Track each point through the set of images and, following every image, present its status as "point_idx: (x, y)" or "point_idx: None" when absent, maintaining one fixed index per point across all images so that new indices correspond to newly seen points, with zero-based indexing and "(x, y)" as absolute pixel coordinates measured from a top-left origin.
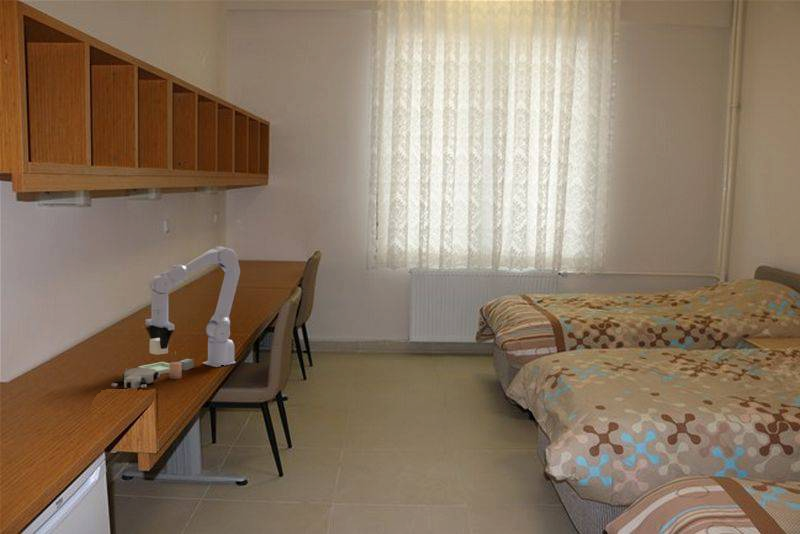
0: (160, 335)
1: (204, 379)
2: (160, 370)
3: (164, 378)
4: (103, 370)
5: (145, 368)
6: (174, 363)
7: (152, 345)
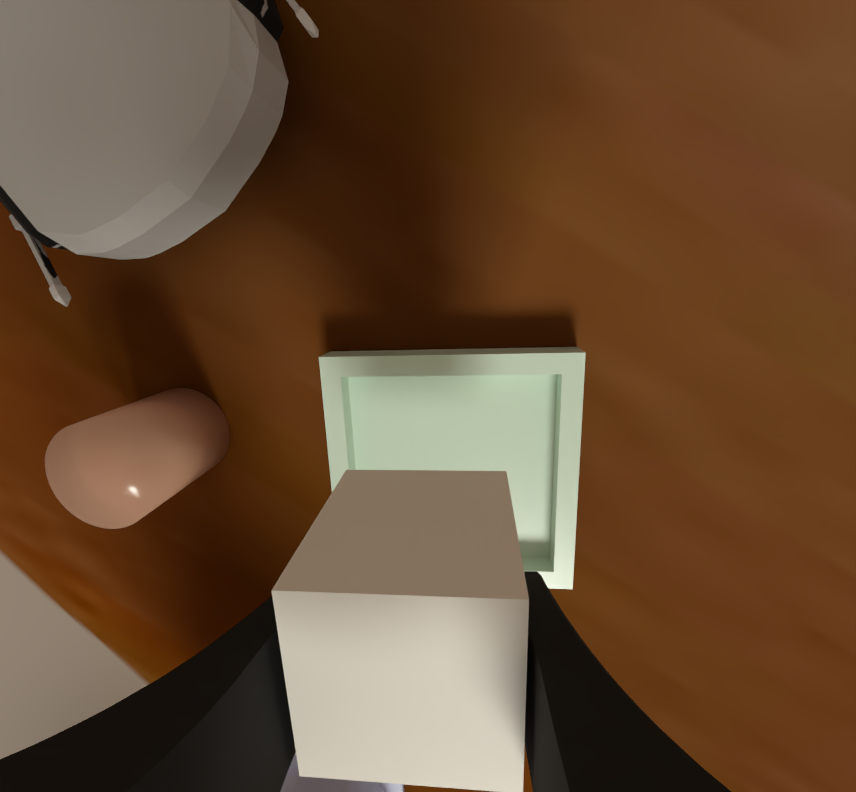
0: (130, 720)
1: (35, 528)
2: (324, 412)
3: (203, 354)
4: (849, 78)
5: (145, 175)
6: (94, 465)
7: (433, 529)
